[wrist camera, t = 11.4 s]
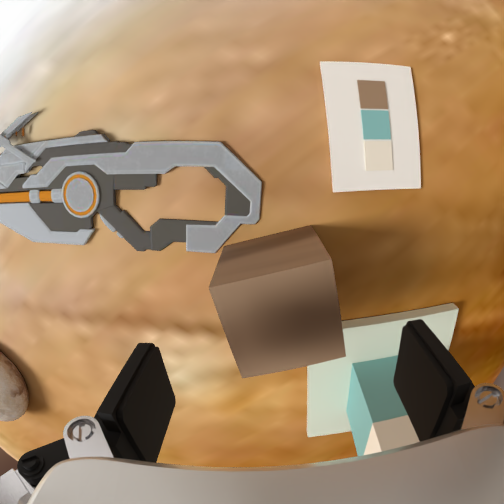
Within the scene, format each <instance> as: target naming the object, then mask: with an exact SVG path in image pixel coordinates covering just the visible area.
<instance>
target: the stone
mask: <svg viewBox="0 0 504 504" xmlns="http://www.w3.org/2000/svg"><path fill="white" fill-rule="evenodd" d="M28 401H29V395H28V391H27V386H26V383H25V381H24V379H23V377H22V375H21V374H20V372H19V371H18V369H17V368H16V366H15V365H14V364H13V363H12V362H11V361H10V360H9V359H8V358H7V357H6V356H5V355H4V354H3V353H2V352H1V351H0V421H14V420H16V419H18V418H20V417H21V416H22V415H24V414H25V412H26V410H27V407H28Z"/></svg>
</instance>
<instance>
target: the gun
mask: <svg viewBox="0 0 504 504" xmlns="http://www.w3.org/2000/svg"><path fill="white" fill-rule="evenodd" d="M31 113H32V112H30V113H28V114H25V115H23V116H20V117H18V118H17V119H16V120H15V121H14V122H13V123H12V124H11V125H10V126H9V127H8V128H7V129H6V130H5V131H4V132H3V133H2V134H1V135H0V147H1V146H2V147H4V148H5V150H4V152H3V153H2V154H1V156H0V192H9V191H24V190H30V192H15V193H1V194H0V223H2V224H3V225H5V226H7V227H8V228H10V229H12V230H14V231H15V232H17V233H19V234H20V235H22V236H24V237H26V238H27V239H29V240H31V241H33V242H43V243H58V244H74V245H85V244H86V243H87V241H88V240H89V238H90V237H91V235H92V234H93V232H94V231H95V229H94V228H91V227H93V216H94V215H95V214H96V213H97V212H98V213H99V214H100V218H101V219H102V221H103V222H104V224H105V225H106V226H107V227H108V228H109V229H110V230H111V231H112V232H114V231H115V230H116V231H117V235H118V236H119V237H121V238H124V239H125V240H126V241H127V242H129V243H130V244H131V245H132V246H133V247H134V248H135V249H136V250H137V251H145V250H146V249H150V250H157V251H161V250H162V249H163V248H165V247H166V246H168V245H169V244H170V243H172V242H186V251H193V252H207V253H216V252H217V250H218V249H219V248H220V247H221V246H222V245H223V244H224V242H225V241H226V240H227V239H228V238H229V237H230V236H231V235H232V233H233V232H234V231H235V230H236V229H237V228H238V227H239V226H240V224H256V223H257V221H258V220H259V219H260V205H261V189H262V181H261V180H260V179H259V178H258V177H257V176H256V175H254V174H253V173H252V172H251V171H250V170H249V169H248V168H247V167H246V166H245V165H244V164H243V163H242V162H241V161H240V160H239V159H238V158H237V157H236V156H235V155H234V154H233V153H232V152H231V151H230V150H229V149H228V148H227V147H226V146H225V145H224V144H223V143H221V142H207V141H151V142H134V143H133V144H128V142H121V143H120V142H119V141H117V142H110V140H109V139H108V138H107V137H106V135H105V134H99V133H98V132H97V131H96V130H91V131H82V132H79V133H78V134H77V135H76V136H74V137H69V138H61V139H54V140H47V141H40V142H34V143H28V144H22V145H17V146H13V145H11V143H10V140H8V138H9V137H10V136H11V135H12V134H13V133H16V136H17V132H18V131H19V130H20V129H21V128H22V136H24V125H25V124H26V123H27V122H29V121H30V120H31V119H32V118H33V117H34V116H35V115H36V114H37V113H38V112H37V113H34V114H31ZM30 114H31V115H30ZM89 143H90V144H89ZM60 146H61V147H60ZM40 165H41V166H42V167H43V168H42V169H41V170H40V171H39V172H38V173H37V174H33V175H30V176H29V177H19V176H20V175H21V174H23V173H28V172H29V171H30V170H31V168H32V167H33V166H40ZM175 166H192V167H205V168H206V169H207V170H208V172H209V173H210V174H211V175H212V176H213V177H214V178H219V179H220V180H221V181H222V182H223V183H224V184H225V185H226V199H225V216H224V217H223V218H222V219H221V220H220V221H219V222H213V221H195V220H176V219H159V220H158V221H157V222H155V223H154V224H153V225H152V226H151V227H150V231H144V230H143V229H142V228H141V227H140V226H139V225H138V224H137V223H136V222H135V221H134V220H133V218H132V217H131V216H130V215H129V214H128V213H127V212H126V211H125V210H124V211H122V210H121V209H119V208H118V207H117V206H116V195H115V190H145V189H146V188H147V187H155V186H156V185H157V174H165V173H167V172H168V171H170V170H171V169H172V168H174V167H175ZM18 177H19V178H18ZM42 189H52V191H40V190H42ZM29 201H31V202H29ZM41 201H53V202H44V203H40V202H41ZM3 202H13V203H3Z"/></svg>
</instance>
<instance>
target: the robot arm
mask: <svg viewBox="0 0 504 504" xmlns="http://www.w3.org/2000/svg"><path fill="white" fill-rule="evenodd" d="M393 382H394V387H395V389H396V391H397V393H398V395H399V397H400V399H401V402H402V404H403V406H404V408H405V410H406V412H407V414H408V417H409V419H410V421H411V423H412V425H413V427H414V430H415V432H416V434H417V436H418V439H419V441H420V442H417V443H414V444H410V445H406V446H402V447H398V448H394V449H390V450H386V451H382V452H377V453H372V454H368V455H362V456H357V457H352V458H346V459H339V460H333V461H326V462H318V463H309V464H299V465H288V466H272V467H201V466H186V465H175V464H164V463H156V461H157V458H158V455H159V452H160V449H161V446H162V443H163V440H164V437H165V434H166V431H167V428H168V425H169V422H170V419H171V416H172V413H173V410H174V407H175V395H174V393H173V390H172V387H171V384H170V381H169V378H168V375H167V372H166V369H165V366H164V363H163V359H162V356H161V353H160V350H159V348H158V347H155V345H154V344H153V343H138V345H137V346H136V348H135V349H134V351H133V353H132V354H131V356H130V357H129V359H128V361H127V362H126V364H125V365H124V367H123V369H122V370H121V372H120V374H119V375H118V377H117V379H116V380H115V382H114V384H113V385H112V387H111V389H110V390H109V392H108V394H107V395H106V397H105V399H104V401H103V402H102V404H101V406H100V407H99V409H98V411H97V413H96V415H95V417H94V418H93V417H90V416H80V417H77V418H74V419H72V420H71V421H70V422H69V423H68V424H67V425H66V426H65V428H64V431H63V436H64V438H63V439H60V440H58V441H55V442H53V443H50V444H48V445H45V446H42V447H40V448H37V449H34V450H32V451H29V452H27V453H25V454H24V455H23V456H22V457H21V458H20V459H19V461H18V465H17V468H18V470H16V471H14V469H11V470H10V471H8V472H7V473H5V474H4V475H2V476H1V477H0V504H504V391H503V390H502V389H501V388H500V387H498V386H497V385H495V384H492V383H482V384H479V385H477V386H476V387H475V386H474V385H473V383H472V381H471V380H470V378H469V377H468V376H467V374H466V373H465V372H464V370H463V369H462V368H461V366H460V365H459V364H458V363H457V361H456V360H455V359H454V358H453V356H452V355H451V354H450V352H449V351H448V350H447V349H446V348H445V346H444V345H443V344H442V343H441V341H440V340H439V339H438V338H437V336H436V335H435V334H434V333H433V332H432V330H431V329H430V328H429V327H428V326H427V325H426V323H425V322H424V321H423V320H422V319H418V320H412V321H408V322H407V323H406V325H405V326H403V328H402V334H401V340H400V346H399V352H398V358H397V363H396V369H395V374H394V379H393Z"/></svg>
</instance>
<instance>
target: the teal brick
mask: <svg viewBox="0 0 504 504" xmlns="http://www.w3.org/2000/svg"><path fill="white" fill-rule="evenodd" d="M397 358H398V355H397V356H392V357H386V358H381V359H375V360H370V361H364V362H357V363H352V369H351V378H350V387H349V394H348V402H347V409H346V412H347V415H348V419H349V423H350V427H351V431H352V435H353V438H354V442H355V446H356V450H357V454H358V456H362V455H364V452H365V448H366V445H367V442H368V438H369V434H370V431H371V427H372V423H375V422H380V421H384V420H389V419H393V418H397V417H401V416H405V415H408V414H407V412H406V410H405V408H404V406H403V404H402V402H401V399H400V397H399V395H398V393H397V391H396V389H395V387H394V382H393V379H394V374H395V369H396V363H397Z"/></svg>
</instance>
